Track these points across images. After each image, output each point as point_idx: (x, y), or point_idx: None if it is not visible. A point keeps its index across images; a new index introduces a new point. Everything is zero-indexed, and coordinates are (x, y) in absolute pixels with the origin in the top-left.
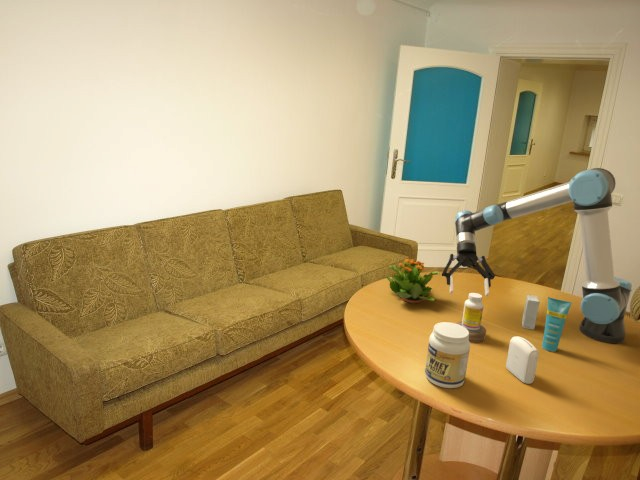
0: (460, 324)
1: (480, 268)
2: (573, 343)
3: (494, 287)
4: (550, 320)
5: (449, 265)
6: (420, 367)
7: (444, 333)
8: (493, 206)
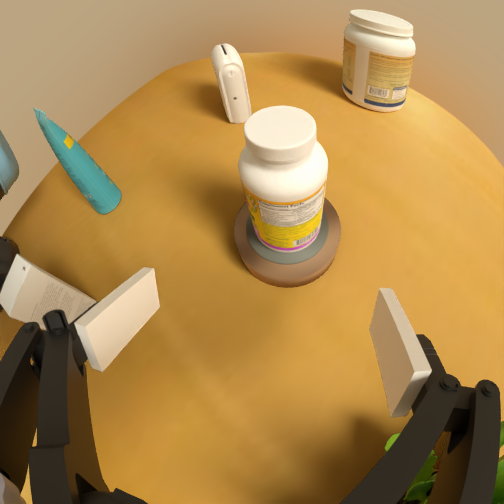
0: (321, 241)
1: (54, 408)
2: (54, 232)
3: None
4: (80, 147)
5: (469, 475)
6: (412, 117)
7: (391, 16)
8: None
